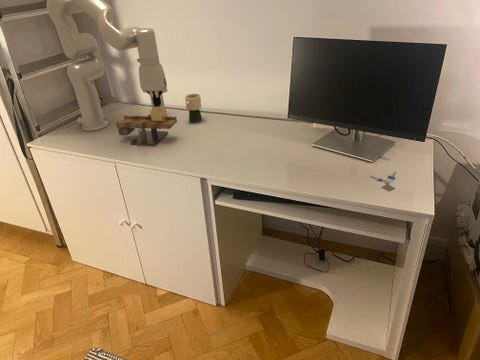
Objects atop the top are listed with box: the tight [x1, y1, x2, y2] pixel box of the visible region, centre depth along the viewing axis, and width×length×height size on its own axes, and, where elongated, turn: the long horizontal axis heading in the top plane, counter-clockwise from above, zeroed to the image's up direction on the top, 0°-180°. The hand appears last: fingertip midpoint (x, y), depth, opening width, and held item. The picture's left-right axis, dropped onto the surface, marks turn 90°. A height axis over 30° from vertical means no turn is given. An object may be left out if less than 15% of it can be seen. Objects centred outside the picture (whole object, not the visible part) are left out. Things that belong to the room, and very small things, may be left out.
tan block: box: [149, 106, 168, 123], centre depth 159 cm, size 5×5×6 cm
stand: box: [129, 113, 169, 147], centre depth 164 cm, size 12×14×10 cm
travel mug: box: [149, 91, 166, 110], centre depth 186 cm, size 6×7×20 cm
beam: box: [115, 114, 178, 136], centre depth 163 cm, size 25×8×6 cm, turn 77°
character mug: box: [184, 93, 203, 123], centre depth 179 cm, size 11×7×13 cm, turn 148°
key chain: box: [370, 170, 397, 192], centre depth 125 cm, size 14×8×1 cm, turn 158°
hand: (157, 105), depth 157 cm, fingers closed
